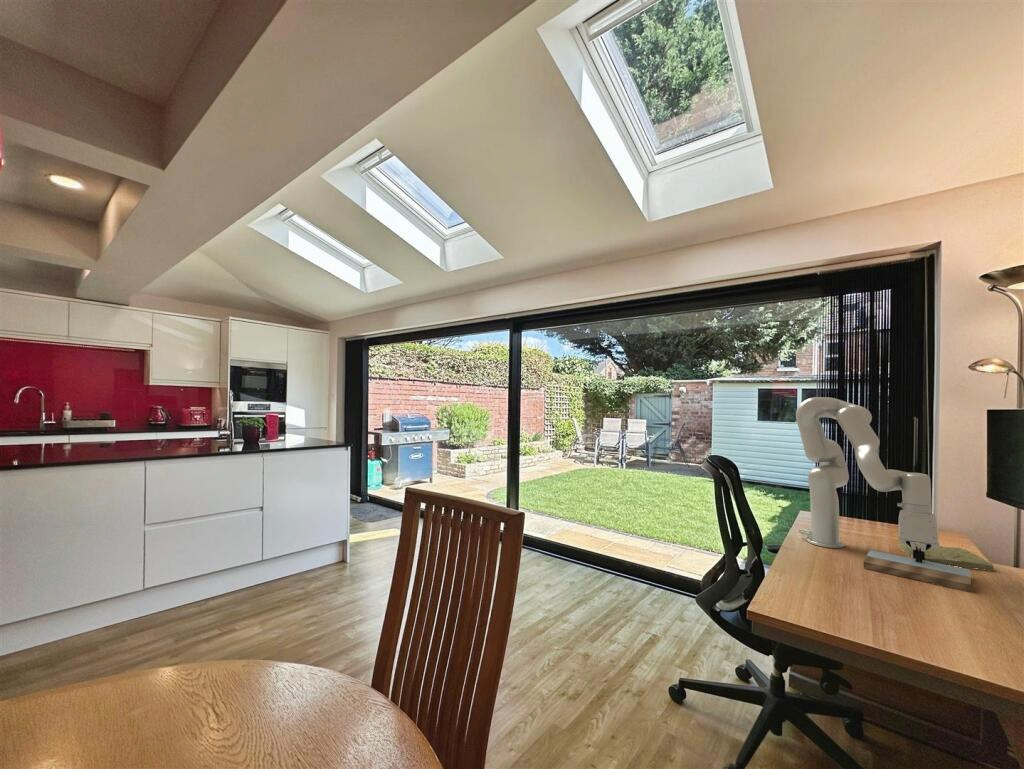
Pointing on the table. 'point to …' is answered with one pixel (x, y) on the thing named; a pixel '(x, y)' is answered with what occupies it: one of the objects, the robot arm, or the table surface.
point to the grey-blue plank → (924, 563)
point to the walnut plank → (919, 573)
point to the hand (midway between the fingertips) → (919, 561)
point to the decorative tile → (951, 556)
